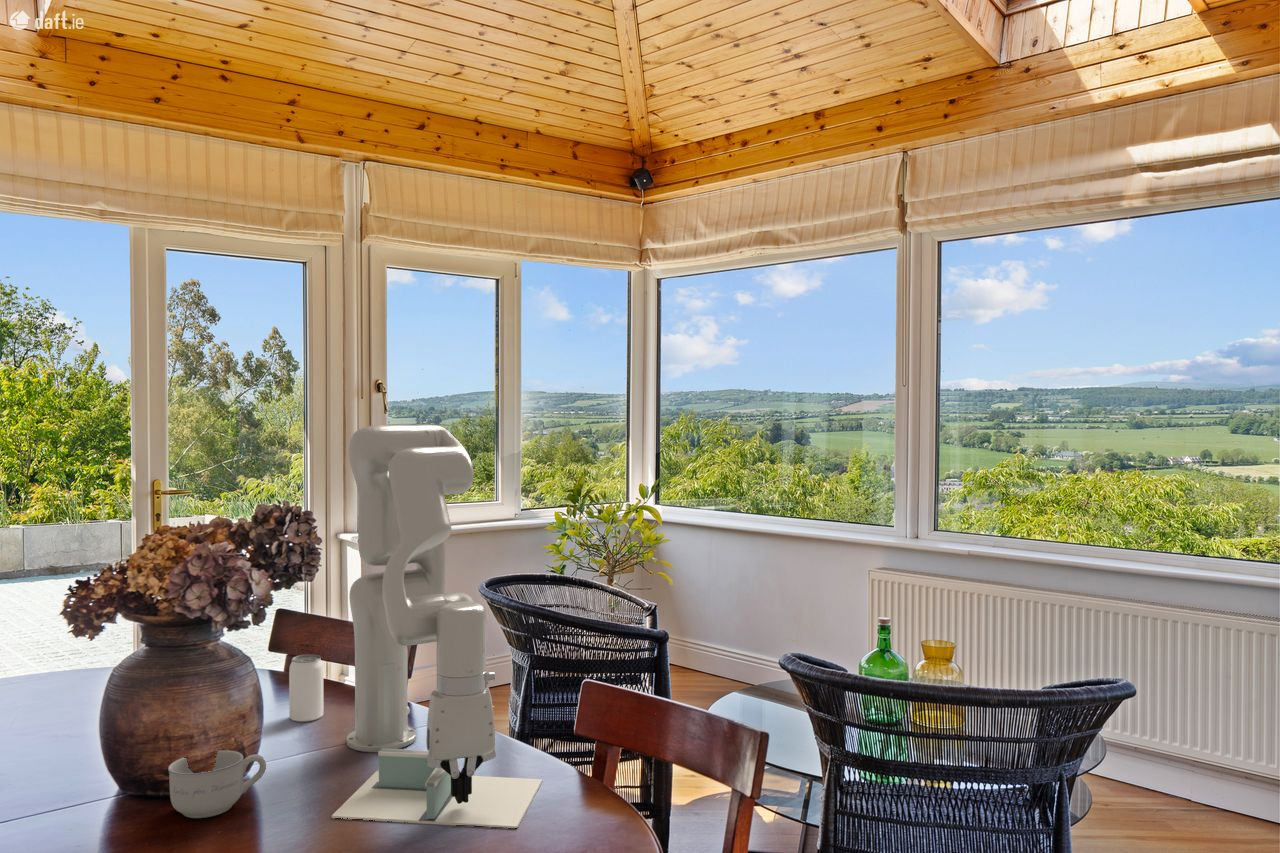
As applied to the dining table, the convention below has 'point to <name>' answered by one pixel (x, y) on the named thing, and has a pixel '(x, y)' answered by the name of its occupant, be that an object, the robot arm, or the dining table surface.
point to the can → (306, 688)
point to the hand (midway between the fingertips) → (461, 799)
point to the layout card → (485, 807)
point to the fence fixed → (403, 768)
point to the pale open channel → (437, 791)
